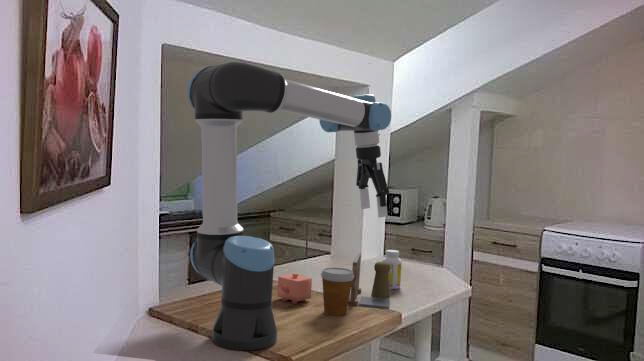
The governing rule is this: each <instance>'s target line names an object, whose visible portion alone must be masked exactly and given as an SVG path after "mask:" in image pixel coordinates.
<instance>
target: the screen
mask: <svg viewBox="0 0 644 361" xmlns="http://www.w3.org/2000/svg"><path fill="white" fill-rule="evenodd" d="M361 257H362V252H356V254H355V257H354V259H353V260H352V267H351V268H352V271H353V275H354V278H353V280H352V285H351V291H350V298H349V301H348V306H352V307H353V306H359V299H357V297H358V295H359V294H361V293H362V288H361V287H360V276H361V273H360V272H361V261H362V260H361V259H362V258H361Z"/></svg>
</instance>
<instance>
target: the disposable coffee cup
mask: <svg viewBox="0 0 644 361" xmlns="http://www.w3.org/2000/svg"><path fill="white" fill-rule="evenodd" d="M320 276H321V279H322V280H321V281H322V291H323V292H322V293H323V294H322V295H323V309H324V310H323V311H324V313H325V314H326V315H329V316H335V317H337V316H338V317H339V316H345V315H347V310H348V306H349V305H348V301H349V299H350V297H351V285H352V280H353V278H354V275H353V271H352V270H351V269H349V268H345V267H325V268H323V269H322V272H320Z"/></svg>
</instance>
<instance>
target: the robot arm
mask: <svg viewBox="0 0 644 361" xmlns="http://www.w3.org/2000/svg"><path fill="white" fill-rule="evenodd" d="M186 91H187V98H188V103H190V105H191V107H192V108H193V109H194V121H195V122H196V124H198V125H199V127H200V129H201V174H202V179H201V180H202V223H201V225H200V226H199V227H198V228H197V230H196V239H195V241H194V242H193V244H192V245H191V248H190V254H189V255H190V256H189V257H190V262H191V266H192V267H193V269H194V270H195V271H196V272H197V273H198V274H199V275H200V276H201V277H203V278H204V279H206V280H207V281H209V282H213V283H216V284H218V285H220V286H221V302H220V303H221V305H220V309H219V311H218V313H217V315H216V318H215V321H214V324H213V327H212V329H211V330H212V331H211V342H213V344H215V345H217V346H218V347H220V348H224V349H228V350H235V351H254V350H257V351H258V350H262V349H266V348H270V347H271V346H273V345H275V344H276V342H277V341H278V328H277V324H276V320H275V317H274V312H273V309H272V300H273V299H272V298H273V285H274V283H273V281H274V267H275V266H274V265H275V249H274V248H275V247H274V246H273V244H272V243H270V242H269V241H268V240H265V239H263V238H260V237H254V236H249V235H244V233H245V232H244V231H245V229H244V227H243V226H242V225H241V224H240V223H239V222H238V160H237V159H238V157H237V156H238V152H237V150H238V148H237V147H238V146H237V145H238V144H237V143H238V141H237V140H238V138H237V132H238V131H237V130H238V129H237V128H238V126H239V125H241V124H242V122H243V119H244V118H243V112H265V113H269V114H273V113H274V114H275V113H276V112H277V111H280V112H285V113H287V114H288V113H289V114H294V115H299V116H304V117H307V118H312V119H316V120H319V125H320V127H321V129H322V130H323V131H324V132H326V133H337V132H342V131H343V132H344V131H345V132H346V131H347V132H348V131H349V132H351V131H352V132H353V136H354V145H355V146H356V147H355V154H356V156H355V157H356V159H357V170H356V171H357V172H356V183H355V184H356V186H357V187H358V189H359V195H360V205H361V207H360V208H361V210H364V209H365V210H366V209H371V205H370V204H371V203H370V194H369V193H370V192H369V184H368V183H369V179H370V180H372V181H371V182H372V185H373V187H374V189H375V191H376V195H375V197H376V203H377V204H376V207H377V216H378V218H385V217H388V206H387V195H389V194H390V191H389V187H388V183H387V180H386V177H385V173H384V170H383V169H384V168H383V163H382V162H381V161H379V162H377V159H378V158H380V157H382V156H381V155H382V152H381V145H379V144H380V135H381V133H380V132H379V131H383V130H386V129H387V128H388V127H390V126H389V125H390V124H391V120H392V110H391V109H390V108H391V107H389V105H388V104H387V103H385V102H382V101H381V102H378V101H376V97H375V95H374V94H371V93H369V94H368V93H367V94H360V95H353V96H348V95H344V94H341V93H336V92H333V91H328V90H326V89H322V88H320V87H315V86H311V85H307V84H304V83H300V82H296V81H294V80H293V81H292V80H290V79H286V78H285V76H284V74H282V73H280V72H277V71H273V70H271V69H267V68H263V67H260V66H257V65H254V64H250V63H247V62H241V61H229V62H228V61H227V62H225V63H222V64H215V65H214V64H213V65H209V66H205V67H203V68H202V69H200V70H198V71H197V72H195V73H194V74H193V76H192V77H191V78H190V80H189V82H188V85H187V90H186Z"/></svg>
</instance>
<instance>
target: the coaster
mask: <svg viewBox="0 0 644 361" xmlns="http://www.w3.org/2000/svg"><path fill="white" fill-rule="evenodd" d="M358 306H359V307H369V308H378V309H390V298H377V297H373V296H365V295H362V296H360V298H359V301H358Z"/></svg>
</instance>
